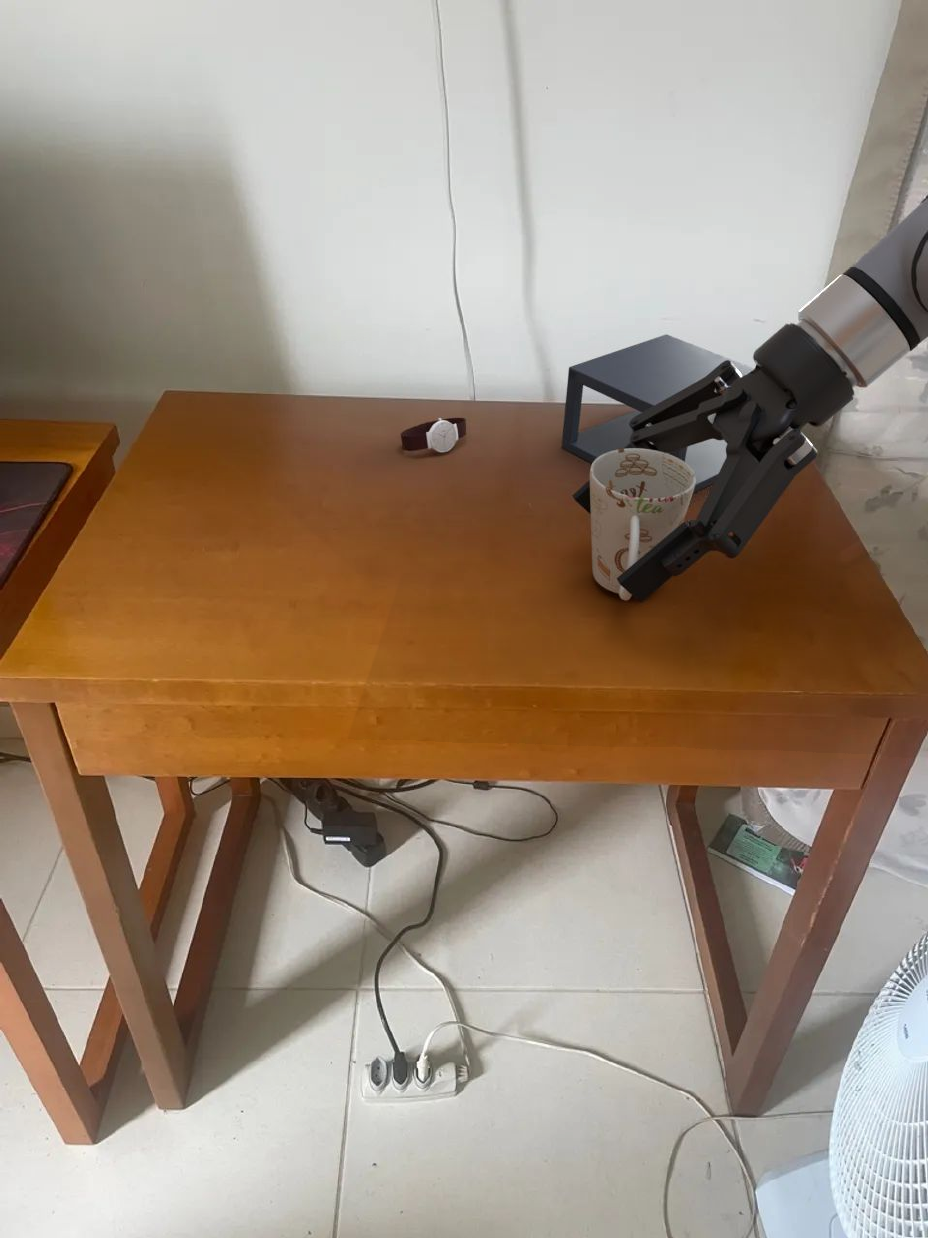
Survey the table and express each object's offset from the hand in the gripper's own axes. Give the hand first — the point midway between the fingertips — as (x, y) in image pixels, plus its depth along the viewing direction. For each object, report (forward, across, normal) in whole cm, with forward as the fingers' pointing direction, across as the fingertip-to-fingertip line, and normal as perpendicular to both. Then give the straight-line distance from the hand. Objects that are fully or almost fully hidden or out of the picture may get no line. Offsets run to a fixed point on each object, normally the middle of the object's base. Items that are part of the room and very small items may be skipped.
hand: (604, 546), depth 79 cm
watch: (+10, +29, +3) cm, 31 cm away
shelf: (-6, +24, -14) cm, 28 cm away
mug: (+2, 0, -5) cm, 5 cm away
